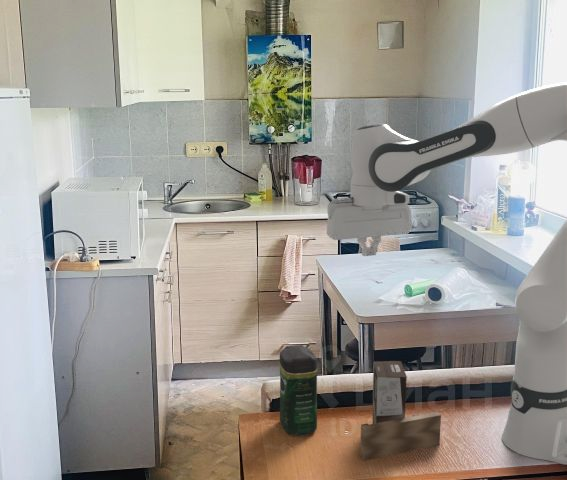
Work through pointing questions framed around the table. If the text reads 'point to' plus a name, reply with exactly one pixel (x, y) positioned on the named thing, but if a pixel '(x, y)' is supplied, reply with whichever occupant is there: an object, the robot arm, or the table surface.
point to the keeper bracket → (400, 435)
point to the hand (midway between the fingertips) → (368, 255)
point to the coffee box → (388, 391)
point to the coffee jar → (298, 390)
